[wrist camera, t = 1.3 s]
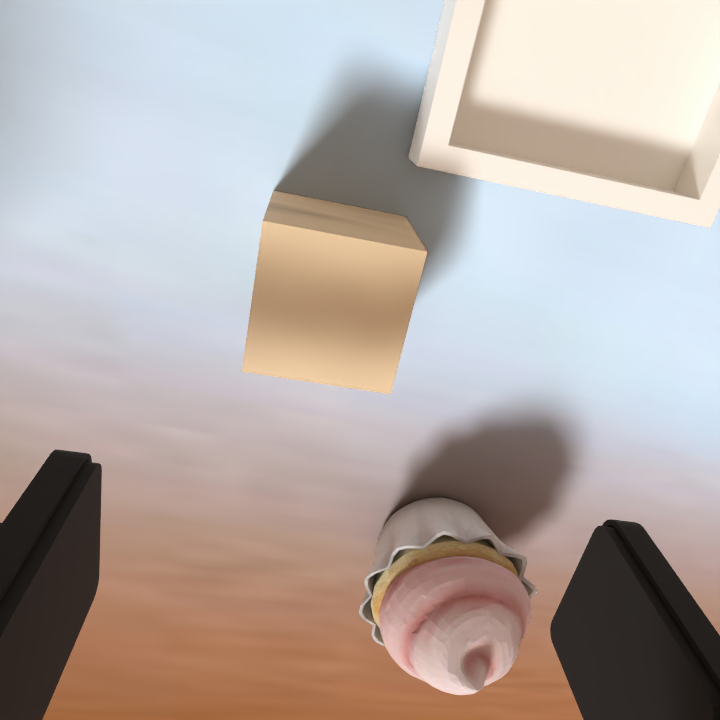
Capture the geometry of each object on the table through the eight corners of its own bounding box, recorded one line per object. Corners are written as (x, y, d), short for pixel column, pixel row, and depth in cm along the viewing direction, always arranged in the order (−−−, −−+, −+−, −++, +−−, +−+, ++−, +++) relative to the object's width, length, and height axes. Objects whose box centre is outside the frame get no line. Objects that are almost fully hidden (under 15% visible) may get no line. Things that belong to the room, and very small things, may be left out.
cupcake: (538, 545, 36) (611, 700, 27) (410, 616, 38) (439, 783, 29) (458, 442, 33) (512, 583, 24) (321, 527, 35) (323, 686, 26)
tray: (677, 214, 28) (710, 227, 26) (408, 157, 26) (417, 166, 24) (822, -126, 23) (880, -148, 20) (497, -229, 21) (520, -267, 18)
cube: (377, 335, 30) (390, 394, 24) (255, 315, 29) (241, 371, 24) (405, 216, 27) (427, 252, 22) (273, 190, 26) (262, 220, 21)
